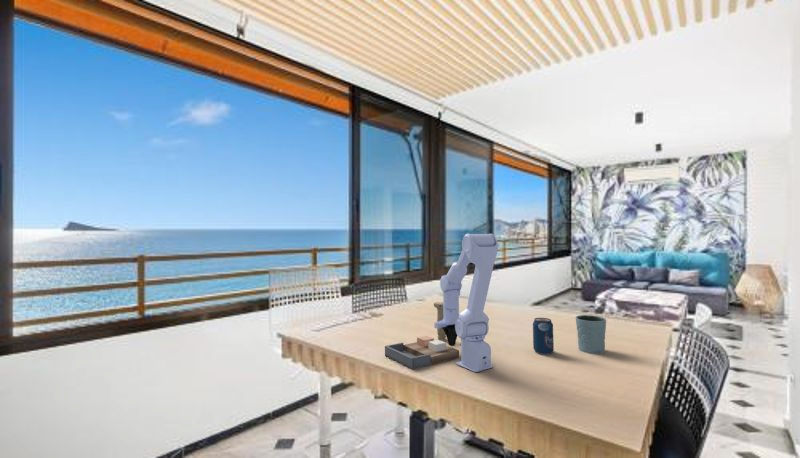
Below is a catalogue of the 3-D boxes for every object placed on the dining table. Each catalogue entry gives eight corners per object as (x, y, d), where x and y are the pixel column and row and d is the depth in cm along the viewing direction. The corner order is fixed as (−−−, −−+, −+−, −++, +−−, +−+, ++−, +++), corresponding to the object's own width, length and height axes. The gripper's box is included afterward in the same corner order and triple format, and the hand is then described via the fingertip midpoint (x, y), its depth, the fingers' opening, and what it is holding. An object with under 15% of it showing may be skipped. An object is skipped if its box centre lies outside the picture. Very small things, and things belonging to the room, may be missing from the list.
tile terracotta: (433, 345, 135) (433, 338, 135) (424, 347, 132) (424, 340, 133) (426, 342, 139) (426, 335, 139) (417, 344, 136) (416, 337, 136)
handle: (448, 341, 148) (447, 304, 149) (433, 340, 150) (432, 303, 151) (450, 338, 153) (450, 302, 153) (435, 337, 155) (435, 301, 155)
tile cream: (446, 349, 129) (446, 342, 129) (436, 351, 127) (436, 344, 127) (438, 346, 133) (438, 339, 133) (428, 348, 130) (428, 341, 130)
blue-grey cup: (599, 346, 139) (598, 315, 139) (612, 355, 129) (611, 321, 129) (572, 346, 140) (571, 314, 140) (582, 354, 130) (581, 320, 130)
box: (431, 364, 121) (431, 354, 121) (412, 369, 117) (411, 358, 117) (403, 351, 135) (403, 342, 136) (384, 355, 131) (384, 346, 131)
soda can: (550, 356, 128) (550, 322, 128) (530, 352, 132) (530, 319, 132) (556, 351, 133) (555, 318, 134) (536, 348, 138) (535, 316, 138)
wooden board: (459, 357, 128) (459, 350, 128) (431, 364, 121) (431, 357, 121) (429, 345, 142) (429, 339, 142) (403, 351, 135) (403, 345, 136)
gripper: (458, 304, 141) (459, 339, 141) (428, 308, 133) (429, 346, 133) (471, 307, 135) (472, 343, 135) (441, 312, 127) (441, 350, 127)
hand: (451, 345), depth 134 cm, fingers closed
